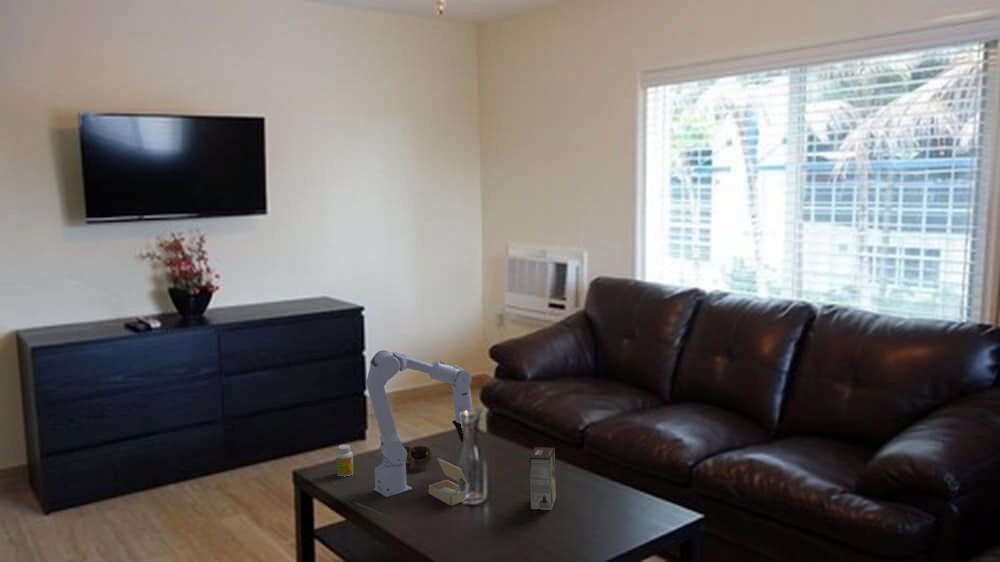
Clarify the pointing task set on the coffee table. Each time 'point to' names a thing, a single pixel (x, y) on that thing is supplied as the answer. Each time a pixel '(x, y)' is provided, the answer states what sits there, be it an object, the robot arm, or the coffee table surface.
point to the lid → (452, 470)
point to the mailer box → (443, 496)
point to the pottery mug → (418, 456)
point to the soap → (448, 491)
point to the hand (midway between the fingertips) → (468, 444)
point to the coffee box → (542, 478)
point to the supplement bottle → (344, 461)
